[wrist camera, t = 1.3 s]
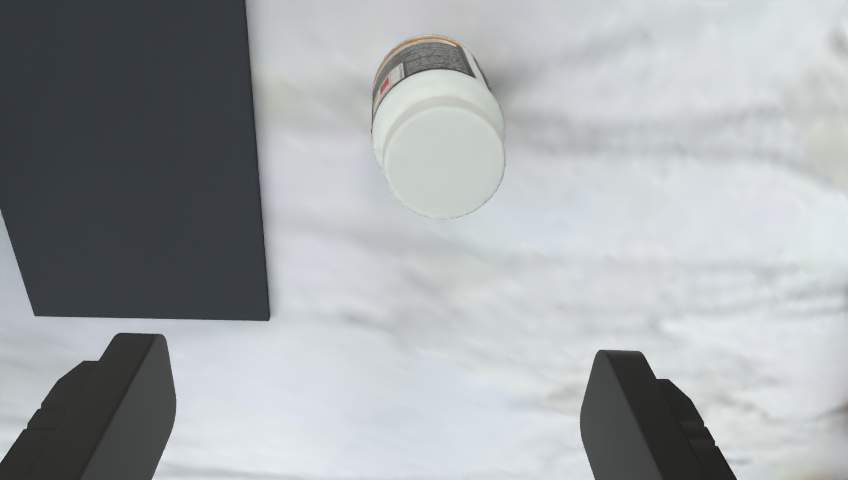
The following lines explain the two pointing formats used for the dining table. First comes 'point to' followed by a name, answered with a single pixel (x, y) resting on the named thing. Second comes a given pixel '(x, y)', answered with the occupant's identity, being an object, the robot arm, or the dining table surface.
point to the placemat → (131, 158)
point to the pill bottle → (437, 128)
